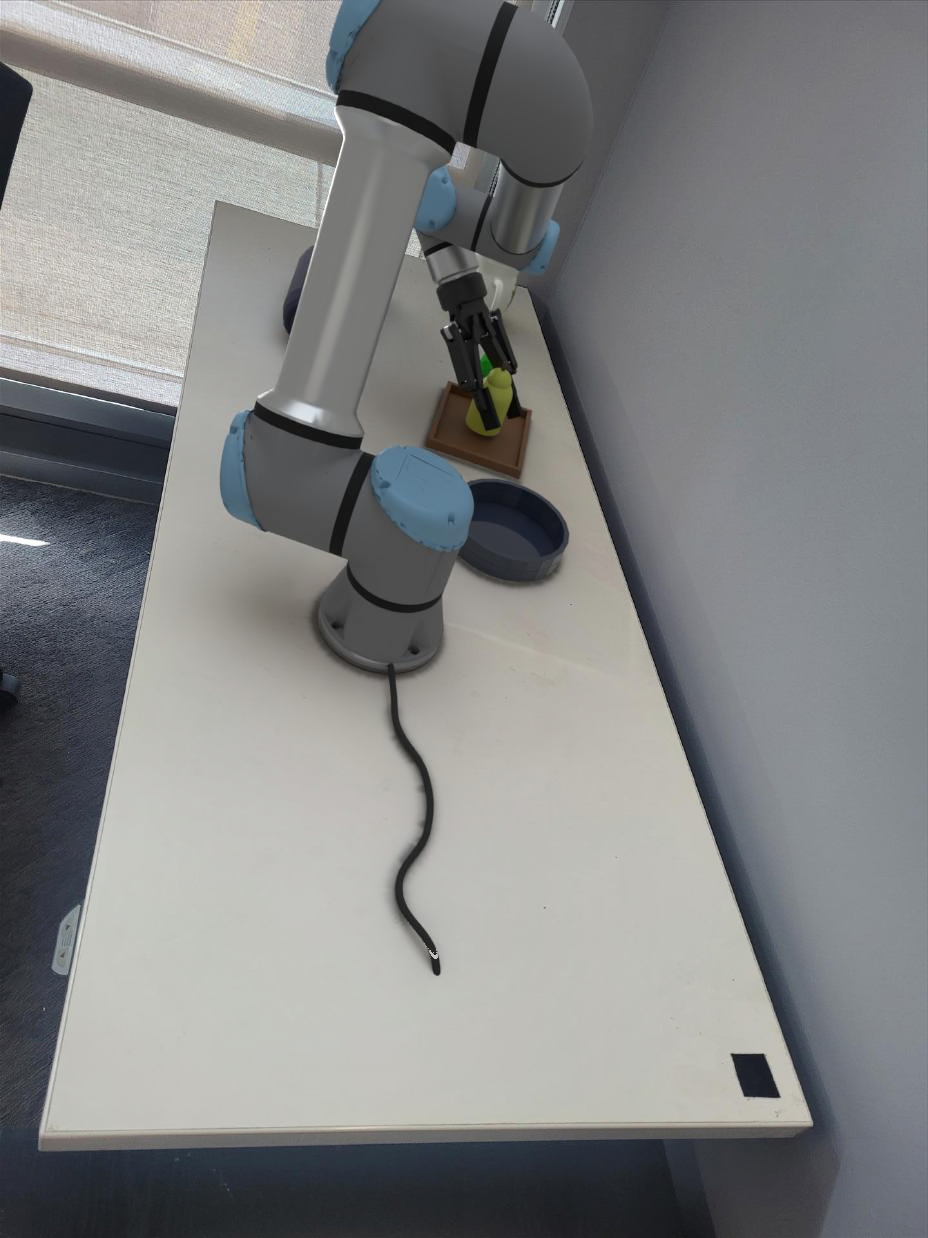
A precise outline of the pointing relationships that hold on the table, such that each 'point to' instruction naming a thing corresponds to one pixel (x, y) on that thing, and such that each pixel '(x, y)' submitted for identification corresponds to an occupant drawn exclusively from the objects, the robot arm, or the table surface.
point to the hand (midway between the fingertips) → (504, 422)
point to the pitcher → (497, 282)
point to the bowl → (513, 532)
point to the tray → (478, 435)
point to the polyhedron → (485, 365)
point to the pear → (501, 398)
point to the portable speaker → (296, 289)
